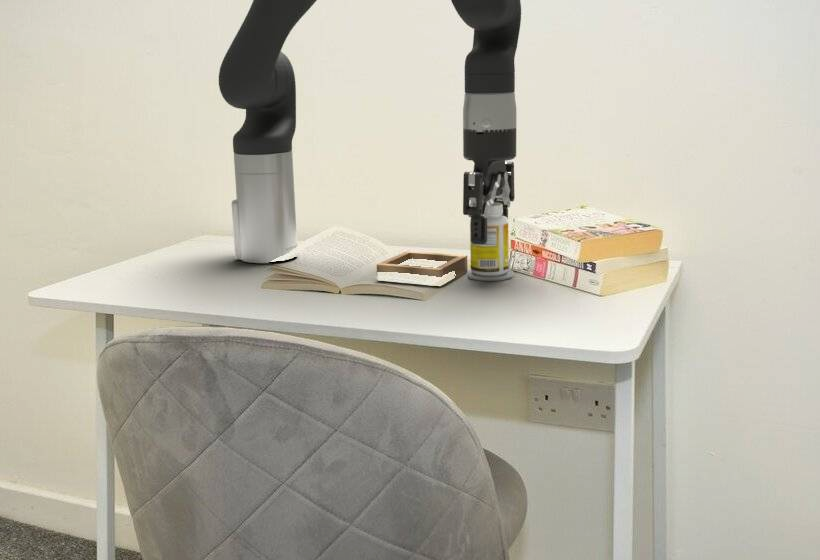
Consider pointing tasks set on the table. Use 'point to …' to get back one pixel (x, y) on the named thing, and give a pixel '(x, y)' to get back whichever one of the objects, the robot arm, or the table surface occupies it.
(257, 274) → the table surface
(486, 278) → the coaster
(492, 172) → the robot arm
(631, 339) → the table surface
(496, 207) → the supplement bottle
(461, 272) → the box frame
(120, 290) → the table surface
